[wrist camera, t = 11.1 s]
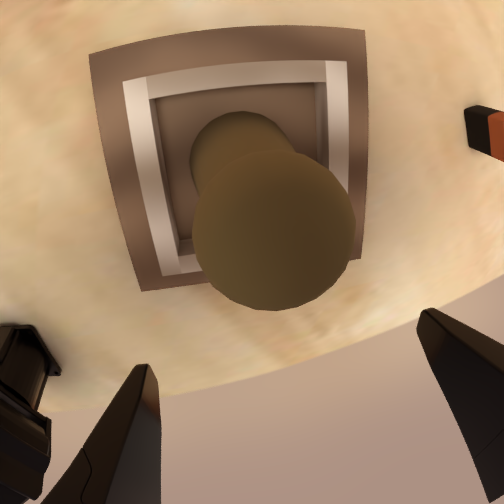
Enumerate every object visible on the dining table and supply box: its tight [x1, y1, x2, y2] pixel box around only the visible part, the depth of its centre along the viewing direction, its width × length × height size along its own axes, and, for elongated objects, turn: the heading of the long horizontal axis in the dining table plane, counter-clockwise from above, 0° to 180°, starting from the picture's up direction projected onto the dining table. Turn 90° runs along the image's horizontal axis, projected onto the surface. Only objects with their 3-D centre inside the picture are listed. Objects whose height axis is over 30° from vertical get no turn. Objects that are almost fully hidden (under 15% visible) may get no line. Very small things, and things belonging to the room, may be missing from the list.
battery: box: [465, 105, 504, 162], centre depth 18 cm, size 2×3×5 cm, turn 22°
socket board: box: [89, 25, 368, 292], centre depth 18 cm, size 16×16×3 cm
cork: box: [189, 111, 356, 311], centre depth 13 cm, size 6×6×11 cm
